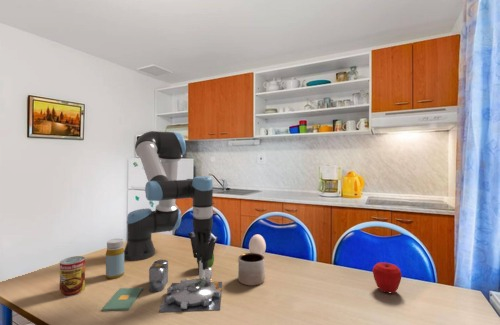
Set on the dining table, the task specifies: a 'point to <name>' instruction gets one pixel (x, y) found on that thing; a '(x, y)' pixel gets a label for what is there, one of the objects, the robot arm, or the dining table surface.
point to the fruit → (210, 261)
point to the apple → (387, 276)
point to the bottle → (114, 258)
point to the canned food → (72, 276)
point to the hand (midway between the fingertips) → (202, 276)
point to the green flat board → (122, 299)
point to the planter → (251, 269)
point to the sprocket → (194, 291)
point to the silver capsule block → (158, 276)
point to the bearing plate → (174, 307)
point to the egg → (257, 244)
